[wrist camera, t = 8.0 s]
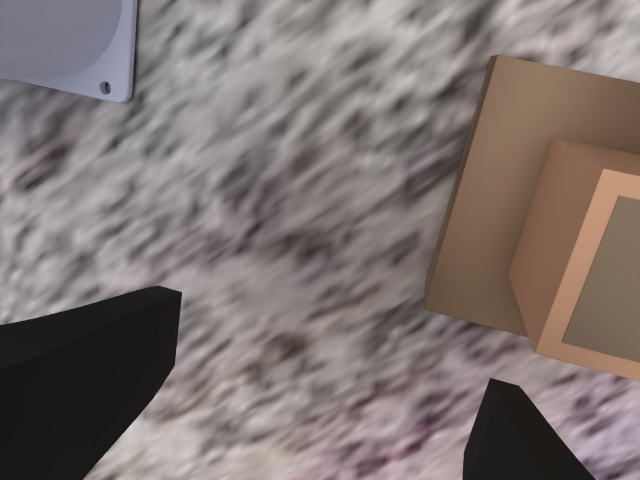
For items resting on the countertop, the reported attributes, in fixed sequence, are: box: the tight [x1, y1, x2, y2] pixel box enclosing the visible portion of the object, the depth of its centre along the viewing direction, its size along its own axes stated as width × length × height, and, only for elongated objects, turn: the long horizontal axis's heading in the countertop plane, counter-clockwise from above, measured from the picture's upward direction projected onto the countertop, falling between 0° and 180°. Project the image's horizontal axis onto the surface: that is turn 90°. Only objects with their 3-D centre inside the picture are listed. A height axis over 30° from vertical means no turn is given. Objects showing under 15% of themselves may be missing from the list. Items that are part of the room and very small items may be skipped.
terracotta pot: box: [508, 137, 640, 381], centre depth 15 cm, size 5×5×6 cm
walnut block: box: [424, 55, 640, 337], centre depth 19 cm, size 9×9×3 cm
